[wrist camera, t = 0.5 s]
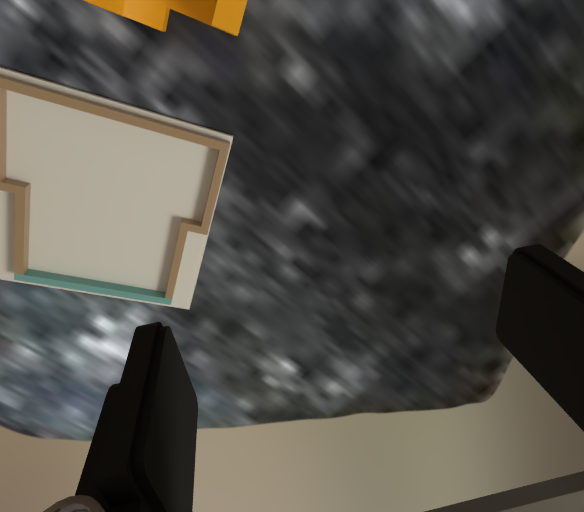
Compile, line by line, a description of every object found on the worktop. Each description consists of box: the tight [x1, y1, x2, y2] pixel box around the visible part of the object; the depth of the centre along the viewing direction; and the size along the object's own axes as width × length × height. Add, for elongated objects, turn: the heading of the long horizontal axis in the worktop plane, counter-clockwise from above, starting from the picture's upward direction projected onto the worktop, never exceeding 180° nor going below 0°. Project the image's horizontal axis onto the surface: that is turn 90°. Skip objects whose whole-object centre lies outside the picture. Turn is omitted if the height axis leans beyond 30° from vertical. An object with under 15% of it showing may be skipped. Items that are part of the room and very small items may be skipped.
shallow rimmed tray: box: [0, 66, 233, 309], centre depth 39 cm, size 21×20×2 cm
